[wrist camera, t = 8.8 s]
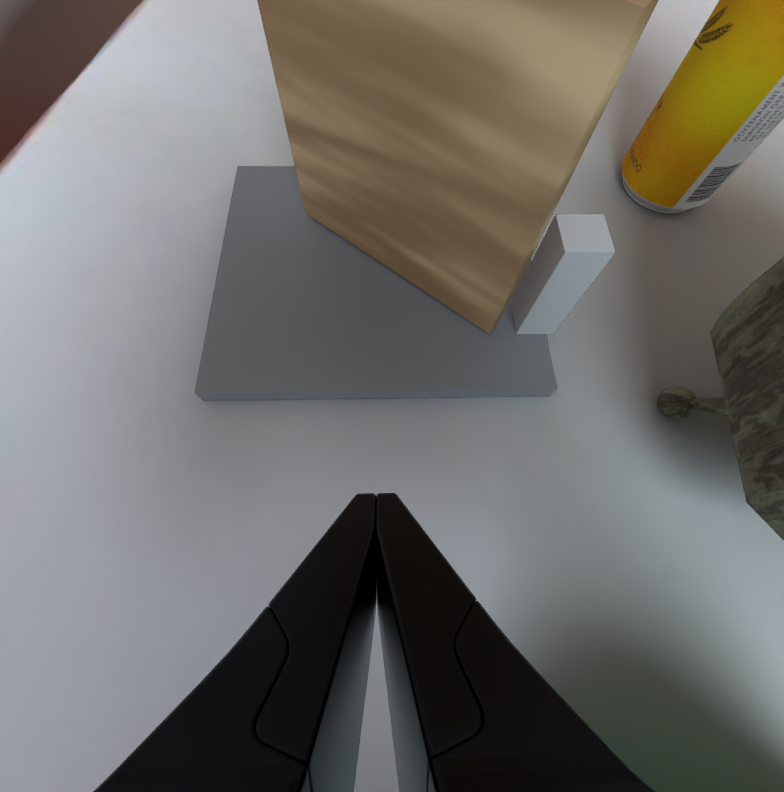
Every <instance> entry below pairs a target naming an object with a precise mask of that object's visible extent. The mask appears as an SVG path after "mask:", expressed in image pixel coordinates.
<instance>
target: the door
mask: <svg viewBox="0 0 784 792" xmlns="http://www.w3.org/2000/svg"><path fill="white" fill-rule="evenodd" d="M257 1H258V5H259V9H260V14H261V18H262V23H263V27H264V31H265V36H266V40H267V45H268V49H269V53H270V58H271V62H272V67H273V71H274V75H275V80H276V84H277V89H278V93H279V97H280V102H281V106H282V111H283V115H284V119H285V124H286V128H287V133H288V137H289V141H290V146H291V150H292V155H293V159H294V163H295V168H296V172H297V177H298V181H299V185H300V190H301V194H302V199H303V203H304V207H305V212H306V214H308V215H309V216H311V217H312V218H314V219H315V220H317V221H318V222H320V223H321V224H323V225H324V226H326V227H327V228H329V229H330V230H332V231H333V232H335V233H336V234H338V235H340V236H341V237H343V238H344V239H346V240H347V241H349V242H350V243H352V244H353V245H355V246H356V247H358V248H359V249H361V250H362V251H364V252H365V253H367V254H368V255H370V256H372V257H373V258H375V259H376V260H378V261H379V262H381V263H382V264H384V265H385V266H387V267H388V268H390V269H391V270H393V271H394V272H396V273H397V274H399V275H401V276H402V277H404V278H405V279H407V280H408V281H410V282H411V283H413V284H414V285H416V286H417V287H419V288H420V289H422V290H423V291H425V292H426V293H428V294H429V295H431V296H433V297H434V298H436V299H437V300H439V301H440V302H442V303H443V304H445V305H446V306H448V307H449V308H451V309H452V310H454V311H455V312H457V313H458V314H460V315H461V316H463V317H465V318H466V319H468V320H469V321H471V322H472V323H474V324H475V325H477V326H478V327H480V328H481V329H483V330H484V331H486V332H487V333H490V332H491V331H492V330H493V328H494V327H495V326H496V325H497V324H498V322H499V321H500V319H501V317H502V315H503V313H504V311H505V309H506V307H507V305H508V303H509V301H510V299H511V297H512V295H513V293H514V291H515V289H516V287H517V285H518V283H519V281H520V279H521V277H522V275H523V273H524V271H525V269H526V267H527V265H528V263H529V261H530V259H531V257H532V255H533V253H534V250H535V248H536V246H537V244H538V242H539V240H540V238H541V236H542V234H543V232H544V230H545V228H546V226H547V224H548V222H549V220H550V218H551V216H552V214H553V212H554V210H555V208H556V206H557V204H558V202H559V200H560V198H561V196H562V194H563V192H564V190H565V188H566V186H567V184H568V182H569V180H570V178H571V176H572V174H573V172H574V170H575V168H576V166H577V164H578V162H579V160H580V158H581V156H582V153H583V151H584V149H585V147H586V145H587V143H588V141H589V139H590V137H591V135H592V133H593V131H594V129H595V127H596V125H597V123H598V121H599V119H600V117H601V115H602V113H603V111H604V109H605V107H606V105H607V103H608V101H609V99H610V97H611V95H612V93H613V91H614V89H615V87H616V85H617V83H618V81H619V79H620V77H621V75H622V73H623V71H624V69H625V67H626V65H627V63H628V61H629V59H630V56H631V54H632V52H633V50H634V48H635V46H636V44H637V42H638V40H639V38H640V36H641V34H642V32H643V30H644V28H645V26H646V24H647V22H648V20H649V18H650V16H651V14H652V12H653V10H654V8H655V6H656V4H657V2H658V0H257Z"/></svg>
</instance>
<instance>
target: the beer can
mask: <svg viewBox="0 0 784 792" xmlns="http://www.w3.org/2000/svg"><path fill="white" fill-rule="evenodd" d="M783 118H784V0H719V2H718V4H717V5H716V7H715V9H714V10H713V12H712V14H711V15H710V17H709V19H708V20H707V22H706V24H705V25H704V27H703V29H702V30H701V32H700V33H699V35H698V37H697V38H696V40H695V42H694V43H693V45H692V47H691V48H690V50H689V52H688V53H687V55H686V57H685V58H684V60H683V62H682V63H681V65H680V67H679V68H678V70H677V71H676V73H675V75H674V76H673V78H672V80H671V81H670V83H669V85H668V86H667V88H666V90H665V91H664V93H663V95H662V96H661V98H660V100H659V101H658V103H657V105H656V106H655V108H654V109H653V111H652V113H651V114H650V116H649V118H648V119H647V121H646V123H645V124H644V126H643V128H642V129H641V131H640V133H639V134H638V136H637V138H636V139H635V141H634V143H633V144H632V146H631V147H630V149H629V151H628V152H627V154H626V156H625V157H624V159H623V162H622V174H623V186H624V188H625V190H626V192H627V193H628V195H629V196H630V197H631V198H632V199H633V200H634V201H636V202H637V203H638V204H640V205H641V206H643V207H645V208H648V209H650V210H653V211H656V212H661V213H679V212H683V211H686V210H688V209H690V208H695V207H698V206H700V205H703V204H704V203H706V202H707V201H708V200H709V199H710V198H711V197H712V196H713V195H714V194H715V193H716V192H717V191H718V190H719V188H720V187H721V186H722V185H723V184H724V183H725V182H726V181H727V180H728V179H729V177H730V176H731V175H732V174H733V173H734V172H735V171H736V170H737V169H738V168H739V167H740V165H741V164H742V163H743V162H744V161H745V160H746V159H747V158H748V157H749V156H750V155H751V153H752V152H753V151H754V150H755V149H756V148H757V147H758V146H759V145H760V144H761V143H762V141H763V140H764V139H765V138H766V137H767V136H768V135H769V134H770V133H771V132H772V131H773V129H774V128H775V127H776V126H777V125H778V124H779V123H780V122H781V121H782V120H783Z"/></svg>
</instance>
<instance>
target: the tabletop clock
mask: <svg viewBox="0 0 784 792" xmlns="http://www.w3.org/2000/svg"><path fill="white" fill-rule="evenodd" d="M711 337H712V342H713V346H714V351H715V356H716V361H717V365H718V370H719V375H720V379H721V384H722V389H723V394H724V398H708V399H696V397H695V396H694V394H693V392H692V391H690V390H687V389H685V388H683V387H673V388H668V389H665V390H664V391H663V392H662V393H661V394H660V395H659V396H658V402H657V405H658V407H659V409H660V411H661V412H662V414H664V415H667V416H669V417H671V418H674V419H676V418H682V417H688V416H689V415H690V414H691V413H692V412H693V411H694V410H699V411H704V412H710V413H715V414H721V415H726V416H728V417H729V422H730V426H731V431H732V436H733V441H734V445H735V450H736V455H737V459H738V464H739V469H740V474H741V478H742V483H743V488H744V492H745V497H746V502H747V503H748V504H749V505H750V506H751V507H752V508H753V509H754V510H755V511H756V513H757V514H758V515H759V516H760V517H761V518H762V519H763V520H764V521H765V522H766V523H767V524H768V525H769V526H770V527H771V528H772V529H773V530H774V531H775V532H776V533H777V534H778V535H779V536H780V537H781V538H782V539H783V540H784V258H782V259H781V260H780V261H779V262H778V263H776V264H775V265H774V266H773V267H771V268H770V269H769V270H768V271H767V272H765V273H764V274H763V275H762V276H760V277H759V278H758V279H757V280H756V281H754V282H753V283H752V284H751V285H750V286H749V287H748V288H747V289H746V290H744V291H743V292H742V293H741V294H740V295H739V296H738V297H737V298H736V299H735V300H734V301H733V302H732V303H731V304H730V305H729V306H728V307H727V309H726V310H725V311H724V312H723V313H722V314H721V316H720V317H719V319H718V321H717V322H716V324H715V326H714V328H713V329H712V331H711Z"/></svg>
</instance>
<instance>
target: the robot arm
mask: <svg viewBox="0 0 784 792" xmlns="http://www.w3.org/2000/svg"><path fill="white" fill-rule="evenodd" d="M376 597H377V606H378V617H379V625H380V634H381V642H382V650H383V659H384V667H385V675H386V684H387V692H388V700H389V709H390V717H391V725H392V734H393V742H394V751H395V759H396V767H397V776H398V784H399V792H657V791H656V790H655V789H653V788H652V787H651V786H650V785H648V784H647V783H646V782H645V781H644V780H643V779H641V778H640V777H639V776H638V775H637V774H636V773H635V772H634V771H633V770H631V769H630V768H629V767H628V766H627V765H626V764H625V763H624V762H623V761H622V760H621V759H620V758H619V757H618V756H617V755H616V754H615V753H614V752H613V751H612V750H611V749H610V748H609V747H608V746H607V744H606V743H605V742H604V741H603V740H602V739H601V738H600V737H599V736H598V735H597V734H596V733H595V732H594V731H593V730H592V729H591V728H590V727H589V725H588V724H587V723H586V722H585V721H584V720H583V719H582V718H581V717H580V716H579V715H578V714H577V713H576V712H575V711H574V710H573V709H572V708H571V707H570V705H569V704H568V703H567V702H566V701H565V700H564V699H563V698H562V697H561V696H560V695H559V694H558V693H557V692H556V691H555V690H554V689H553V688H552V687H551V685H550V684H549V683H548V682H547V681H546V680H545V679H544V678H543V677H542V676H541V675H540V674H539V673H538V672H537V671H536V670H535V668H534V667H533V666H532V665H531V664H530V663H529V662H528V661H527V660H526V659H525V657H524V656H523V655H522V654H521V653H520V652H519V651H518V650H517V649H516V648H515V646H514V645H513V644H512V643H511V642H510V641H509V639H508V638H507V637H506V636H505V634H504V633H503V632H502V631H501V630H500V628H499V627H498V626H497V625H496V623H495V622H494V621H493V620H492V618H491V617H490V616H489V615H488V613H487V612H486V611H485V609H484V608H483V607H482V605H481V604H480V603H479V602H478V601H476V598H475V596H474V595H473V594H472V593H471V591H470V590H469V589H468V587H467V586H466V585H465V583H464V582H463V581H462V579H461V578H460V577H459V576H458V574H457V573H456V572H455V570H454V569H453V568H452V566H451V565H450V564H449V562H448V561H447V560H446V559H445V557H444V556H443V555H442V553H441V552H440V551H439V549H438V548H437V547H436V545H435V544H434V543H433V542H432V540H431V539H430V538H429V536H428V535H427V534H426V532H425V531H424V530H423V529H422V527H421V526H420V525H419V523H418V522H417V521H416V519H415V518H414V517H413V515H412V514H411V513H410V512H409V510H408V509H407V508H406V506H405V505H404V504H403V502H402V501H401V500H400V498H399V497H398V496H397V495H396V494H395V493H379V494H377V496H376V495H375V494H373V493H369V494H357V495H356V496H355V497H354V498H353V499H352V501H351V502H350V503H349V504H348V506H347V507H346V508H345V509H344V511H343V512H342V513H341V514H340V516H339V517H338V518H337V519H336V521H335V522H334V523H333V524H332V526H331V527H330V528H329V529H328V531H327V532H326V533H325V534H324V536H323V537H322V538H321V539H320V541H319V542H318V543H317V544H316V546H315V547H314V548H313V549H312V551H311V552H310V553H309V554H308V556H307V557H306V558H305V559H304V561H303V562H302V563H301V564H300V566H299V567H298V568H297V569H296V571H295V572H294V573H293V574H292V576H291V577H290V578H289V579H288V581H287V582H286V583H285V584H284V586H283V587H282V588H281V589H280V591H279V592H278V593H277V594H276V596H275V597H274V598H273V599H272V601H271V602H270V603H269V607H266V608H265V609H264V610H263V611H262V613H261V614H260V615H259V617H258V618H257V619H256V620H255V622H254V623H253V624H252V625H251V626H250V628H249V629H248V630H247V631H246V632H245V633H244V635H243V636H242V637H241V638H240V639H239V641H238V642H237V643H236V644H235V645H234V646H233V648H232V649H231V650H230V651H229V652H228V653H227V654H226V656H225V657H224V658H223V659H222V660H221V661H220V662H219V663H218V664H217V665H216V666H215V667H214V668H213V669H212V671H211V672H210V673H209V674H208V675H207V676H206V677H205V678H204V679H203V680H202V681H201V682H200V683H199V684H198V686H197V687H196V688H195V689H194V690H193V691H192V692H191V693H190V694H189V695H188V696H187V697H186V698H185V699H184V700H183V701H182V702H181V703H180V704H179V705H178V706H177V707H176V708H175V709H174V710H173V711H172V712H171V713H170V714H169V715H168V716H167V717H166V718H165V720H164V721H163V722H162V723H161V724H160V725H159V726H158V727H157V728H156V729H155V730H154V731H153V732H152V733H151V734H150V735H149V736H148V737H147V738H146V739H145V740H144V741H143V742H142V743H141V744H140V745H139V746H138V747H137V748H136V749H135V750H134V751H133V752H132V754H131V755H130V756H129V757H128V758H127V759H126V760H125V761H124V762H123V763H122V764H121V765H120V766H119V767H118V768H117V769H116V770H115V771H114V772H113V773H112V774H111V775H110V776H109V777H108V778H107V779H106V780H105V781H104V782H103V783H102V784H101V785H100V786H99V787H98V788H96V789H95V790H94V791H93V792H354V784H355V775H356V767H357V759H358V751H359V743H360V735H361V727H362V718H363V710H364V702H365V694H366V686H367V678H368V670H369V662H370V653H371V645H372V637H373V629H374V621H375V612H376Z"/></svg>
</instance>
